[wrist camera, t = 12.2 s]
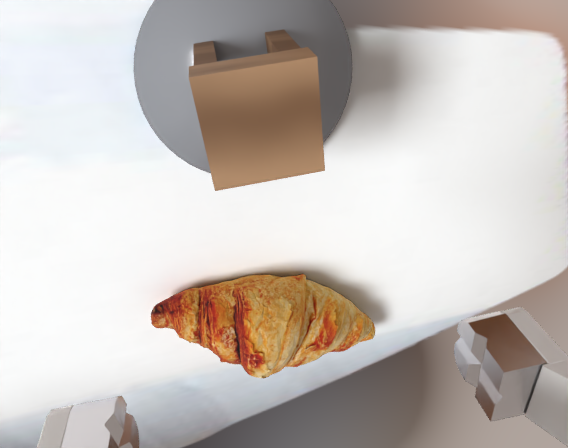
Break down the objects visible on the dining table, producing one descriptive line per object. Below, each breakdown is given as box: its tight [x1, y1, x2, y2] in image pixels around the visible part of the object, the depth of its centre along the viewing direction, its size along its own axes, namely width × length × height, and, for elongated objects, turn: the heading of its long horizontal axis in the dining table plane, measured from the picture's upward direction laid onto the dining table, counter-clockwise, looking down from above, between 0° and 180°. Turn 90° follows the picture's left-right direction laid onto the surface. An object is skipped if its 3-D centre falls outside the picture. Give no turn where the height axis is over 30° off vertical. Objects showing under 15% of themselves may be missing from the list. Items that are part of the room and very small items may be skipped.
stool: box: [189, 29, 325, 191], centre depth 25 cm, size 6×6×8 cm
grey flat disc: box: [134, 0, 352, 173], centre depth 29 cm, size 14×14×1 cm
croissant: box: [151, 274, 375, 378], centre depth 39 cm, size 21×10×8 cm, turn 74°
